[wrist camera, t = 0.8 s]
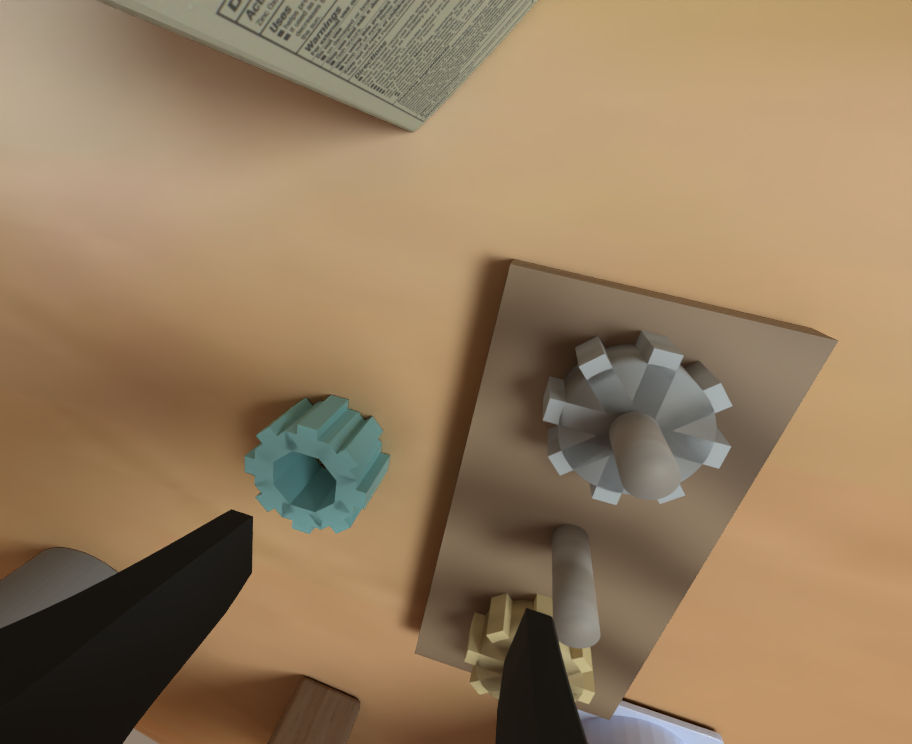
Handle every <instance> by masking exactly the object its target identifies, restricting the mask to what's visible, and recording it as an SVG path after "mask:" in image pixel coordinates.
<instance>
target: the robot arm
mask: <svg viewBox="0 0 912 744" xmlns="http://www.w3.org/2000/svg"><path fill="white" fill-rule="evenodd" d="M252 539H253V516H250V515H247V514H244V513H241V512H238V511H235V510H232V509H231V510H230V511H228V512H226V513H224V514H222V515H220V516H219V517H217V518H215V519H213V520H212V521H210V522H208V523H206V524H205V525H203V526H201V527H199V528H198V529H196V530H194V531H192V532H191V533H189V534H187V535H186V536H184V537H182V538H180V539H178V540H177V541H175V542H173V543H171V544H170V545H168V546H166V547H164V548H163V549H161V550H159V551H157V552H155V553H153V554H152V555H150V556H148V557H146V558H144V559H143V560H141V561H139V562H137V563H135V564H133V565H132V566H130V567H128V568H126V569H124V570H122V571H120V572H118V573H116V574H114V575H112V576H110V577H109V578H107V579H105V580H103V581H101V582H99V583H97V584H95V585H93V586H91V587H89V588H87V589H85V590H83V591H81V592H79V593H77V594H75V595H73V596H71V597H69V598H67V599H65V600H62V601H60V602H58V603H56V604H54V605H52V606H50V607H47V608H45V609H43V610H41V611H39V612H36V613H34V614H32V615H30V616H28V617H25V618H23V619H21V620H19V621H16V622H14V623H12V624H9V625H7V626H5V627H2V628H0V744H123V742H124V741H125V739H126V738H127V736H128V735H129V734H130V732H131V731H132V729H133V728H134V727H135V725H136V724H137V723H138V721H139V720H140V719H141V718H142V716H143V715H144V714H145V712H146V711H147V710H148V708H149V707H150V706H151V704H152V703H153V702H154V701H155V700H156V698H157V697H158V696H159V695H160V693H161V692H162V691H163V690H164V689H165V687H166V686H167V685H168V684H169V682H170V681H171V680H172V679H173V677H174V676H175V675H176V674H177V673H178V671H179V670H180V669H181V668H182V666H183V665H184V664H185V663H186V661H187V660H188V659H189V658H190V657H191V655H192V654H193V653H194V652H195V650H196V649H197V648H198V647H199V646H200V644H201V643H202V642H203V641H204V639H205V638H206V637H207V636H208V634H209V633H210V632H211V631H212V629H213V628H214V627H215V626H216V624H217V623H218V622H219V621H220V619H221V618H222V617H223V616H224V614H225V613H226V612H227V610H228V609H229V607H230V606H231V604H232V603H233V601H234V600H235V598H236V597H237V595H238V594H239V592H240V591H241V589H242V587H243V586H244V584H245V583H246V581H247V579H248V578H249V576H250V575H251V573H252ZM496 744H724V743H723V740H722V737H721V735H720V734H718V733H716V732H714V731H711V730H708V729H705V728H702V727H699V726H696V725H693V724H690V723H687V722H684V721H681V720H678V719H675V718H672V717H669V716H666V715H664V714H661V713H658V712H655V711H652V710H649V709H646V708H643V707H640V706H637V705H634V704H631V703H628V702H625V701H621V702H620V704H619V706H618V707H617V709H616V710H615V712H614V714H613V715H612V717H611V719H610V720H607V719H604V718H601V717H598V716H596V715H593V714H590V713H587V712H584V711H581V710H578V709H577V707H576V704H575V700H574V697H573V694H572V690H571V687H570V683H569V680H568V676H567V672H566V669H565V665H564V661H563V657H562V653H561V649H560V645H559V641H558V637H557V632H556V628H555V623H554V620H553V618H552V617H551V616H550V615H547V614H544V613H541V612H538V611H535V610H532V609H529V608H526V609H525V612H524V614H523V617H522V619H521V622H520V624H519V626H518V629H517V631H516V634H515V636H514V638H513V641H512V643H511V646H510V648H509V651H508V653H507V655H506V658H505V660H504V667H503V673H502V680H501V687H500V695H499V702H498V709H497V727H496Z"/></svg>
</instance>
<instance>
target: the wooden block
mask: <svg viewBox="0 0 912 744" xmlns="http://www.w3.org/2000/svg"><path fill="white" fill-rule="evenodd" d="M359 709H360V702H359V701H358V700H357V699H355V698H353V697H351V696H348V695H346V694H344V693H341V692H339V691H337V690H335V689H332V688H330V687H328V686H325V685H323V684H321V683H319V682H316V681H314V680H312V679H309V678H303V679H302V680H301V681H300V682H299V684H298V686H297V688H296V690H295V692H294V694H293V696H292V698H291V700H290V701H289V703H288V705H287V707H286V709H285V711H284V713H283V715H282V717H281V719H280V721H279V723H278V724H277V726H276V728H275V730H274V732H273V734H272V736H271V738H270V740H269V742H268V744H346V743H347V741H348V738H349V735H350V733H351V730H352V727H353V725H354V722H355V719H356V717H357V714H358V711H359Z"/></svg>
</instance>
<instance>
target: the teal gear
mask: <svg viewBox="0 0 912 744" xmlns="http://www.w3.org/2000/svg"><path fill="white" fill-rule="evenodd" d="M382 432H383V430H382V429H381V427H380V426H379V425H378V423H377V422H376V420H375V419H374V418H373V416H372V417H370V418H368V419H367V420H364V419H363V417H362V416H361V415H360V413H359V412H358V411H354V410H351V409H348V399H344V398H341V397H337V396H334V395H330V396H329V397H328V398H327V399H326V400H325V401H324V402H322V401H319V402H317V403H316V404H314V405H312V404H311V403H310V402H309V401H308V399H307V398H304V399H303V400H301V401H300V402H298V403H296V404H295V405H293V406H292V407H291V408H289V409H288V410H287V411H286V412H284V413H283V414H282V415H281V416H279V417H278V418H277V419H276V420H274V421H273V422H272V423H271V424H269V425H268V426H267V427H265V428H264V429H263V430H262V431H260V432H259V433H258V434H257V435H256V437H257V438H258V439H259V440H260V441H261V443H260V444H259V445H257V446H256V447H255V448H254V449H253V450H251V451H250V452H249V453H248V454H247V455H245V472H246V473H249V474H252V475H255V486H256V487H257V488H258V489H259V490H260V493H259V494H258V495H257V496H256V497H255V498H256V499H257V500H258V501H259V502H260V503H261V505H262V506H263V507H264V508H265V509H266V511H267V512H268V511H270V510H272V509H274V508H275V509H276V510H277V512H278V513H279V514H280V515H281V516H282V517H284V518H287V519H290V520H293V523H292V528H293V529H296V530H299V531H302V532H305V533H308V534H310V533H311V532H312V530H313V529H314V527H315V528H318V529H323V528H326V527H328V526H330V527H331V528H332V529H333V530H334V532H335V533H336V534H337V533H339V532H341V531H343V530H346V529H348V528H350V527H351V525H352V524H353V522H354V520H355V519H356V517H357V516H358V514H359V512H360V511H361V509H365V507H366V505H367V504H368V502H369V500H370V499H371V497H372V495H373V494H374V492H375V490H376V489H377V487H378V485H379V484H380V482H381V480H382V479H383V477H384V475H385V474H386V472H387V470H388V465H389V459H390V455H387V454H383V453H381V447H382V443H381V442H380V440H379V439H378V437H379V436H380V435H381V433H382ZM315 458H318V459H320V461H321V462H322V463H323V464H324V466H325V467H326V468H327V469H326V468H323V467H321V466H320V464H319V463H318V462H317V461H316V459H315Z"/></svg>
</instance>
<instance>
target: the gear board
mask: <svg viewBox="0 0 912 744" xmlns="http://www.w3.org/2000/svg"><path fill="white" fill-rule="evenodd" d="M837 342H838V340H836V339H833V338H831V337H829V336H827V335H825V334H823V333H821V332H819V331H816V330H814V329H812V328H808V327H804V326H799V325H795V324H791V323H787V322H782V321H778V320H774V319H769V318H765V317H761V316H756V315H752V314H748V313H744V312H739V311H735V310H731V309H726V308H722V307H718V306H714V305H709V304H705V303H701V302H696V301H692V300H688V299H683V298H679V297H675V296H671V295H666V294H662V293H658V292H653V291H649V290H645V289H640V288H636V287H632V286H628V285H623V284H619V283H615V282H610V281H606V280H602V279H597V278H593V277H589V276H585V275H580V274H576V273H572V272H567V271H563V270H559V269H554V268H550V267H546V266H542V265H537V264H533V263H529V262H524V261H520V260H516V259H513V261H512V262H511V264H510V268H509V272H508V276H507V280H506V284H505V288H504V292H503V296H502V300H501V304H500V308H499V312H498V316H497V320H496V325H495V329H494V333H493V337H492V341H491V345H490V349H489V353H488V357H487V361H486V365H485V369H484V373H483V377H482V381H481V386H480V390H479V394H478V398H477V402H476V406H475V410H474V414H473V418H472V422H471V426H470V430H469V434H468V438H467V442H466V447H465V451H464V455H463V459H462V463H461V467H460V471H459V475H458V479H457V483H456V487H455V491H454V495H453V499H452V503H451V508H450V512H449V516H448V520H447V524H446V528H445V532H444V536H443V540H442V544H441V548H440V552H439V556H438V560H437V564H436V569H435V573H434V577H433V581H432V585H431V589H430V593H429V597H428V601H427V605H426V609H425V613H424V617H423V621H422V625H421V630H420V634H419V638H418V642H417V646H416V650H415V654H418V655H421V656H424V657H427V658H430V659H433V660H436V661H439V662H442V663H445V664H447V665H450V666H453V667H456V668H459V669H462V670H465V671H468V672H471V678H470V683H471V685H472V686H473V687H474V688H475V690H476V691H477V692H478V693H479V695H480V694H485V693H490V694H491V695H492V696H493V697H495V698H496V699H498V700H499V695H500V687H501V680H502V673H503V667H504V660H505V658H506V655H507V653H508V651H509V648H510V646H511V643H512V641H513V638H514V636H515V634H516V631H517V629H518V626H519V624H520V622H521V619H522V617H523V614H524V612H525V609H526V608H529V609H532V610H535V611H538V612H541V613H544V614H547V615H550V616H551V617H552V618H553V620H554V623H555V628H556V632H557V637H558V641H559V645H560V649H561V653H562V657H563V661H564V665H565V669H566V672H567V676H568V680H569V683H570V687H571V690H572V694H573V697H574V700H575V704H576V707H577V709H578V710H581V711H584V712H587V713H590V714H593V715H596V716H598V717H601V718H604V719H607V720H610V719H611V717H612V715H613V714H614V712H615V710H616V709H617V707H618V706H619V704H620V702H621V701H622V699H623V697H624V696H625V694H626V692H627V691H628V689H629V687H630V686H631V684H632V682H633V681H634V679H635V677H636V676H637V674H638V672H639V671H640V669H641V667H642V666H643V664H644V662H645V661H646V659H647V657H648V656H649V654H650V652H651V651H652V649H653V647H654V646H655V644H656V642H657V641H658V639H659V637H660V636H661V634H662V632H663V631H664V629H665V627H666V626H667V624H668V623H669V621H670V619H671V618H672V616H673V614H674V613H675V611H676V609H677V608H678V606H679V604H680V603H681V601H682V599H683V598H684V596H685V594H686V593H687V591H688V589H689V588H690V586H691V584H692V583H693V581H694V579H695V578H696V576H697V574H698V573H699V571H700V569H701V568H702V566H703V564H704V563H705V561H706V559H707V558H708V556H709V554H710V553H711V551H712V549H713V548H714V546H715V545H716V543H717V541H718V540H719V538H720V536H721V535H722V533H723V531H724V530H725V528H726V526H727V525H728V523H729V521H730V520H731V518H732V516H733V515H734V513H735V511H736V510H737V508H738V506H739V505H740V503H741V501H742V500H743V498H744V496H745V495H746V493H747V491H748V490H749V488H750V486H751V485H752V483H753V481H754V480H755V478H756V476H757V475H758V473H759V471H760V470H761V468H762V467H763V465H764V463H765V462H766V460H767V458H768V457H769V455H770V453H771V452H772V450H773V448H774V447H775V445H776V443H777V442H778V440H779V438H780V437H781V435H782V433H783V432H784V430H785V428H786V427H787V425H788V423H789V422H790V420H791V418H792V417H793V415H794V413H795V412H796V410H797V408H798V407H799V405H800V403H801V402H802V400H803V398H804V397H805V395H806V393H807V392H808V390H809V388H810V387H811V385H812V384H813V382H814V380H815V379H816V377H817V375H818V374H819V372H820V370H821V369H822V367H823V365H824V364H825V362H826V360H827V359H828V357H829V355H830V354H831V352H832V350H833V349H834V347H835V345H836V344H837Z"/></svg>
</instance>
